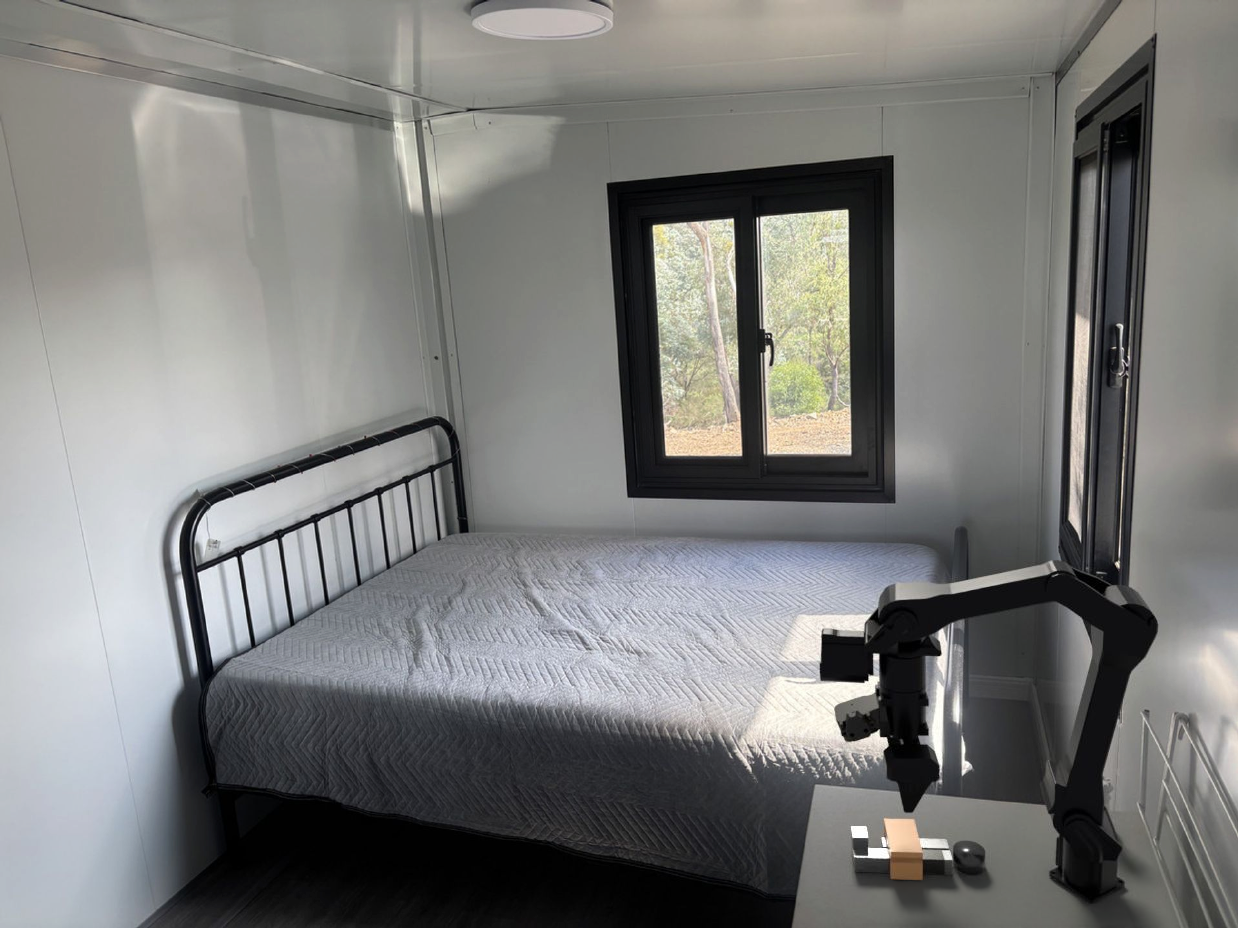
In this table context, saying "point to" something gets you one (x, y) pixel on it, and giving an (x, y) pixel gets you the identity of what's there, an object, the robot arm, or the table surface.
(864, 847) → the arm
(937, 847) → the tongs fixed
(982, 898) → the table surface
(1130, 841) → the table surface
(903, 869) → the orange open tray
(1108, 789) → the rook chess piece
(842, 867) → the table surface
